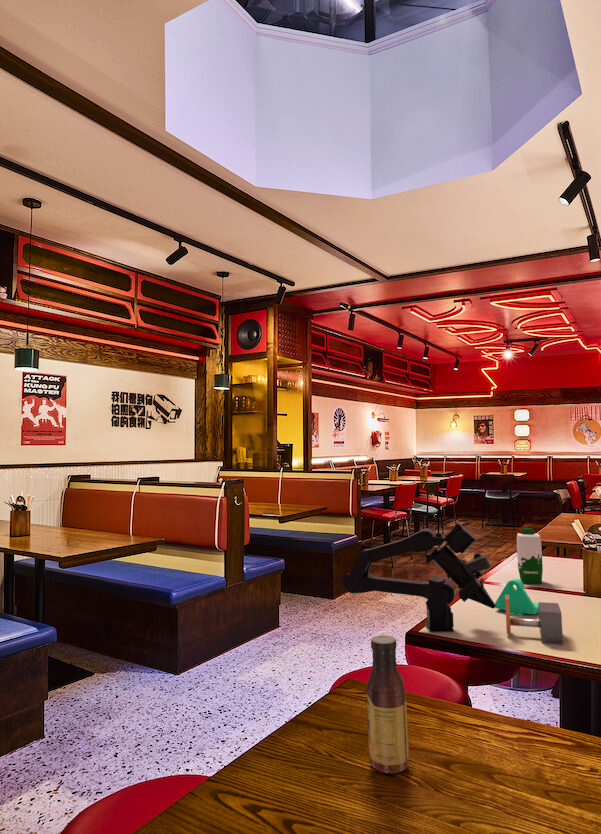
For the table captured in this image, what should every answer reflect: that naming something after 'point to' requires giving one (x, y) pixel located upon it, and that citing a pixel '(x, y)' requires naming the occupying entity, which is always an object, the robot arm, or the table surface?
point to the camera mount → (516, 599)
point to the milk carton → (529, 557)
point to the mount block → (550, 623)
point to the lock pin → (518, 619)
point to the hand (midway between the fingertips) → (494, 607)
